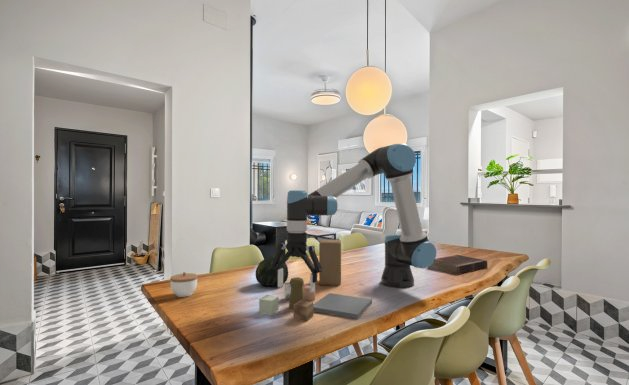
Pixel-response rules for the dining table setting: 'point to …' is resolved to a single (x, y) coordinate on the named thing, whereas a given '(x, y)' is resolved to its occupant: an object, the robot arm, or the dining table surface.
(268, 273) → the squash
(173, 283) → the lidded jar
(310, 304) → the walnut block
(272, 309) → the sage block
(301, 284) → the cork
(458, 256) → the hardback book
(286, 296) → the metal tin
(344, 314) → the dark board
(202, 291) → the dining table surface
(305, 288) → the peach rounded capsule
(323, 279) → the wooden block
